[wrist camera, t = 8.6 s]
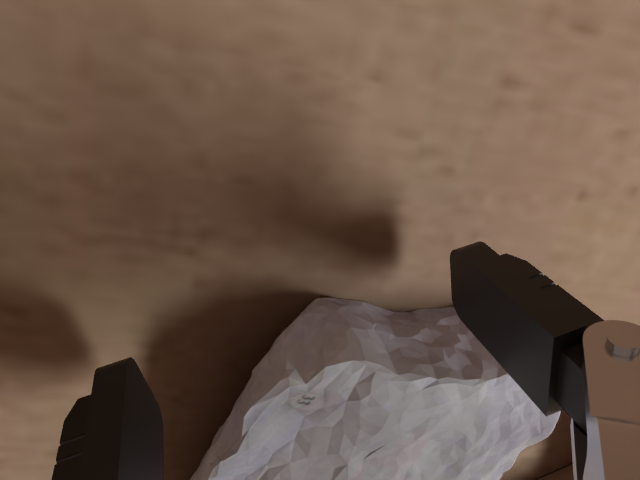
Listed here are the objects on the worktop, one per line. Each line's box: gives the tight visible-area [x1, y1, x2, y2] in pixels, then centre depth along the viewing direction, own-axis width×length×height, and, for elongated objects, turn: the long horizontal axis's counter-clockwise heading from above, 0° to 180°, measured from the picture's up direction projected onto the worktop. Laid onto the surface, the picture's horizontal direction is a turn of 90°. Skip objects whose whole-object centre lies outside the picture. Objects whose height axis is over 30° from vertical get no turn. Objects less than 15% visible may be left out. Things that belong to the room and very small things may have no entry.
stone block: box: [190, 297, 561, 480], centre depth 15 cm, size 12×5×10 cm
